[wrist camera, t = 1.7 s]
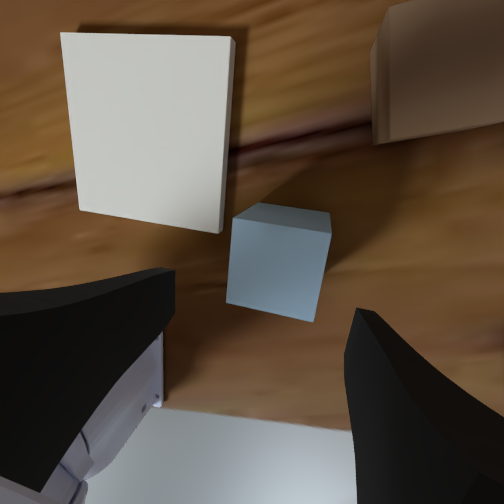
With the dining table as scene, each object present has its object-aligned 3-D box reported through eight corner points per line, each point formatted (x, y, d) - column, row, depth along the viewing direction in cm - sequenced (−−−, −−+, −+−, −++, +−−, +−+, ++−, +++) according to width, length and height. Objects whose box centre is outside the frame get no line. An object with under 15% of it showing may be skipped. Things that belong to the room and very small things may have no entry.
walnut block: (467, 130, 16) (527, 116, 11) (372, 145, 17) (390, 139, 12) (473, 26, 14) (546, -40, 10) (369, 52, 16) (388, 6, 11)
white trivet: (222, 230, 21) (218, 233, 20) (89, 208, 23) (79, 209, 22) (235, 43, 17) (230, 36, 16) (72, 38, 19) (60, 32, 18)
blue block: (316, 278, 20) (313, 322, 15) (251, 266, 21) (225, 302, 16) (329, 212, 19) (331, 233, 13) (258, 202, 20) (233, 217, 14)
